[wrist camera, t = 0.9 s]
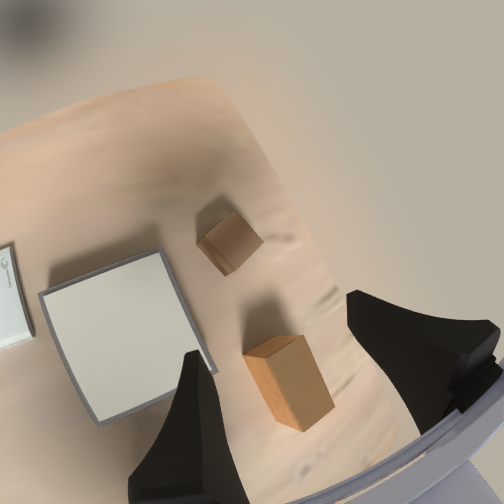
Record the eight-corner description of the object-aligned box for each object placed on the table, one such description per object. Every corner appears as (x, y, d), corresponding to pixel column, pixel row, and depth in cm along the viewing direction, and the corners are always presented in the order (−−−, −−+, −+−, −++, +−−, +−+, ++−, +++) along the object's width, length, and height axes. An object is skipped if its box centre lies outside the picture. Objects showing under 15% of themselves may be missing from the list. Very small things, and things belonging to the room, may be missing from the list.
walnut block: (250, 250, 29) (264, 242, 27) (224, 276, 27) (236, 270, 25) (223, 221, 29) (235, 209, 26) (196, 245, 27) (205, 235, 24)
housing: (304, 399, 27) (335, 406, 23) (275, 420, 25) (303, 432, 21) (274, 336, 28) (303, 335, 23) (241, 355, 26) (266, 358, 21)
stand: (207, 367, 24) (220, 372, 21) (100, 417, 18) (97, 429, 15) (157, 255, 25) (162, 244, 22) (46, 298, 19) (35, 292, 16)
